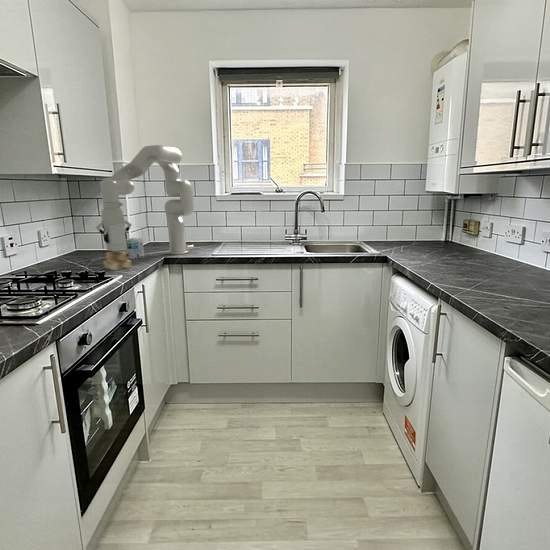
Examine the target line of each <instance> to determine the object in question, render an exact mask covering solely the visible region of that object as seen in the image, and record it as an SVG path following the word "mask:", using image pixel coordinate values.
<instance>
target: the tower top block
mask: <svg viewBox="0 0 550 550" xmlns="http://www.w3.org/2000/svg"><path fill="white" fill-rule="evenodd" d="M105 258H106V261H107V263H118V262H127V260H128V259H127V255H126V252H125V251H123V250H119V251H109V252H108V251H107V252H105Z"/></svg>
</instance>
